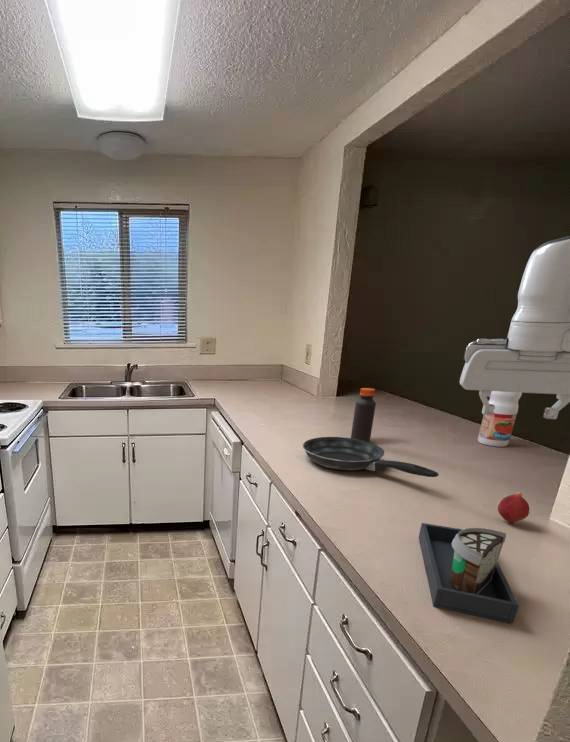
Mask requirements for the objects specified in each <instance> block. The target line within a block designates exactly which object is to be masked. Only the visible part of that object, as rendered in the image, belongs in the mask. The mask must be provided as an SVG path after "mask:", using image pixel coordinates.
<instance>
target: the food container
mask: <svg viewBox="0 0 570 742" xmlns="http://www.w3.org/2000/svg"><path fill="white" fill-rule="evenodd" d="M506 538H507V533H506V532H503V531H500V530H495V529H491V528H485V527H484V528H483V527H468V528H463V530H461V531H460V532H459V533H458V534H457V535H456V536H455V538H454V539H453V541H452V547H453V549H454V551H455V552H454V558H453V565H452V571H451V578H450V584H451V586H452V588H453V589H454V590H458V591H462V592H467V593H472V594H477V595H478V594H479V593H480V592H481V591H482V590H483V589H484V587H485V586H486V585H487V584H488V583H489V582H490V581H491V579H492V576H493V573H494V569H495V566H496V564H497V562H498V560H499V557H500V554H501V551H502V549H503V546H504V543H505V542H506Z"/></svg>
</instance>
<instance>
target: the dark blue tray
mask: <svg viewBox="0 0 570 742" xmlns="http://www.w3.org/2000/svg"><path fill="white" fill-rule="evenodd" d="M463 529H464V528H463ZM463 529H462V528H456V527H451V526H450V527H449V526H443V525H437V524H431V523H426V522H422V523H421V524H420V530H419V533H418V541H419V545H420V550H421V555H422V559H423V565H424V569H425V574H426V578H427V584H428V587H429V593H430V598H431V603H432V606H433V607H435V608H439V609H443V610H448V611H452V612H458V613H462V614H466V615H471V616H475V617H479V618H484V619H487V620H492V621H493V620H494V621H498V622H501V623H506V624H510V625H514V622H515V619H516V616H517V613H518V610H519V607H520V605H519V603H518V601H517V599H516V596H515V595H514V593H513V591H512V588H511V586H510V584H509V582H508V580H507V579H506V576H505V574H504V572H503V570H502V568H501V566H500V564H499V562H498V561H497V564H496V566H495V569H494V573H493V576H492V579H491V581H490V582H489V583H488V584H487V585H486V586H485V587H484V589H483V590H482V591H481V592H480V593H479V594H478V595H477V594H472V593H467V592H462V591H458V590H454V589H453V588H452V586H451V584H450V578H451V571H452V565H453V558H454V552H455V551H454V549H453V547H452V541H453V539H454V538H455V536H456V535H457V534H458V533H459V532H460V531H461V530H463Z"/></svg>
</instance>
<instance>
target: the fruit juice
mask: <svg viewBox="0 0 570 742" xmlns="http://www.w3.org/2000/svg"><path fill="white" fill-rule="evenodd" d="M522 395H523V393H522V392H502V391H492V392H491V396H490V397H489V399H488V402H489V404H493V405H494V406H495V409H494V410H493V412H494V413H493V415H484V414H482V415H483V416H482V420H481V422H480V423H481V424H480V427H479V430H478V431H479V432H478V436H477V442H478V443H479V444H482V445H485V446H489V447H497V448H505V447H507V446H508V445H509V444H510V440H511V436H512V434H513V433H512V432H513V429H514V425H515V422H516V418H517V415H518V412H519V400H520V399H521V397H522Z"/></svg>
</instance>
